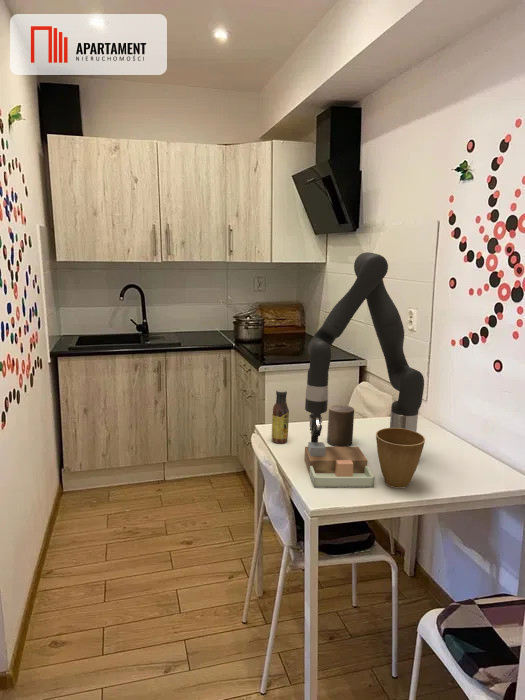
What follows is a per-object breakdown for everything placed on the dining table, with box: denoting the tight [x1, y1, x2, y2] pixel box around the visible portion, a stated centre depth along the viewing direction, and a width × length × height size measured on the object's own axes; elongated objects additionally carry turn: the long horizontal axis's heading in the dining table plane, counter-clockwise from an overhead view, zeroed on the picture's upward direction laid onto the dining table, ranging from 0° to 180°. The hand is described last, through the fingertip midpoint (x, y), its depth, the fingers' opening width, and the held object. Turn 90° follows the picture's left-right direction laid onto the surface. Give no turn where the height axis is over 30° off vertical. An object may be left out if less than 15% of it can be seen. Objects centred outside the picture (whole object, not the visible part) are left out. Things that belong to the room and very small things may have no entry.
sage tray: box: [308, 465, 376, 489], centre depth 164 cm, size 19×9×3 cm, turn 93°
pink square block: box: [335, 460, 353, 477], centre depth 166 cm, size 5×5×3 cm
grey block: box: [307, 441, 326, 456], centre depth 173 cm, size 5×5×3 cm
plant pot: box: [375, 427, 426, 489], centre depth 162 cm, size 15×15×16 cm
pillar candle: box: [326, 404, 355, 447], centre depth 196 cm, size 10×10×15 cm
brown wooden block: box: [303, 446, 368, 474], centre depth 174 cm, size 19×12×5 cm, turn 93°
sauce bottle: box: [271, 389, 290, 444], centre depth 195 cm, size 7×6×20 cm
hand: (314, 445), depth 177 cm, fingers closed
